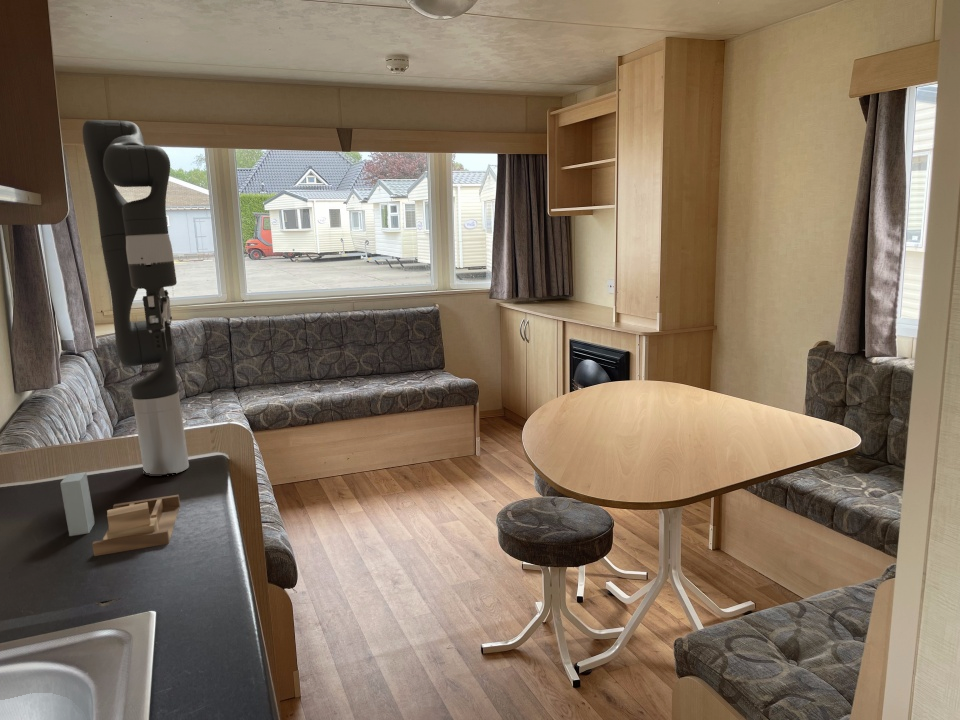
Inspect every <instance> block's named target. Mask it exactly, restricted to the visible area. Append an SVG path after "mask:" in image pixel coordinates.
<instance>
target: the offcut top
mask: <svg viewBox="0 0 960 720" xmlns="http://www.w3.org/2000/svg"><path fill="white" fill-rule="evenodd" d="M106 513H107V515H106V517H107V523H108V528H109V531H110V533H113V532H117V531H122V530H127V529H131V528H136V527H140V526H145V525H150V524H151V522H150V515H149V509H148V502H145V503H140V504H135V505H130V506H126V507H121V508H116V509H113V508H112V509H108V510H106Z"/></svg>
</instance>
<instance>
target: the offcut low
mask: <svg viewBox="0 0 960 720" xmlns="http://www.w3.org/2000/svg"><path fill="white" fill-rule="evenodd" d="M150 522H151V524H150V525H145V526H140V527H136V528H131V529H127V530H122V531H117V532H113V533H110V531H109V530H108V529H107V530H108V531H106V532H107V537H108V539H112V538H118V537H125V536H131V535H137V534H143V533H149V532H155V531H159V528H158V522H157V517H156V518H150Z"/></svg>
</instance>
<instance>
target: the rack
mask: <svg viewBox="0 0 960 720" xmlns="http://www.w3.org/2000/svg"><path fill="white" fill-rule="evenodd" d="M145 502H148V509H149V515H150V518H156V517H157V522H158V528H159V531H155V532H149V533H143V534H137V535H131V536H125V537H118V538H112V539H108V537H107V531H108V530H109V527H108V529H107V531H106V532H105V534H104V536H103V538H102V539H101V540H100V539H99V540H94V541H92V543H91V545H92V549H93V550H92V551H93V556H94V557H98V556H103V555H108V554H115V553H120V552H121V553H122V552H126V551H133V550H139V549H140V550H141V549H144V548H151V547H156V546H157V547H158V546H163V545H168V544H170V541H171V537H172V534H173V531H174V527H175V524H176V521H177V518H178V514H179V512H180V511H179V510H180V507H181V501H180V495H179V494H174V495H173V494H172V495H167V496H160V497H154V498H153V497H152V498H146V499H141V500H135V501H128V502H120V503H114V504H113V506H112V509H116V508H121V507H126V506H130V505H135V504H140V503H145Z"/></svg>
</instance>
